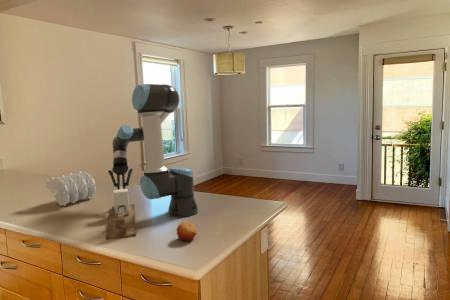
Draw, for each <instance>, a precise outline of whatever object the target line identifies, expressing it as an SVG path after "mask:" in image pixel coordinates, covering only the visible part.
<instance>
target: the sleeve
mask: <svg viewBox="0 0 450 300" xmlns="http://www.w3.org/2000/svg"><path fill="white" fill-rule="evenodd" d="M129 199H130V198H129V189H128V188H125V189H119V190H118V189H114V190H113V204H114V206H115V216H118V212H119V206H121V205H125V206H126V209H125V215H129V205H130V203H129Z"/></svg>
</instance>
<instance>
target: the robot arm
mask: <svg viewBox="0 0 450 300" xmlns="http://www.w3.org/2000/svg"><path fill="white" fill-rule="evenodd" d="M179 103H180V96H179V92H178V91H177V89H176V88H175V87H173V86H172V85H170V84H157V83H156V84H155V83H154V84H152V83H149V84H148V83H147V84H146V83H145V84H138V85H137V86H135V87H134V89H133V92H132V96H131V104H132V107H133V109H134V110H136V111H137V114H138V116H140V117H141V121H142V123H141V125H142V126H141V127H134V128H133V127H132V126H130V125H127V124H124V125H121V126H119V129H118V130H117V134H116V136H115V137H113V139H112V143H111V144H112V169H111V170H110V169H109V170H108V172H107V173H108V175H109V176H110V178H111V181H112V183H113V184H112V185H113V186H114V188H116V187H117V190H119V189H126V187H128V186H129V185H130V180H131V176H132V174H133V172H134V171H133V168H129V166H128V146H129V143H133V142H134V143H135V142H143V143H144V153H145V163H146V164H145V165H146V168H145V169H144V171H143V175H142V176H141V177H140V178H139V187H140V190H141V192H142V193H143V195H144V197H145V198H147V199H148V200H155V199H161V198H165V197H169V196H170V202H169V205H168V210H167V211H168V215H169V216H172V217H178V218H181V217H182V218H183V217H189V216H194V215H196V214H198V213H199V207H198V203H197V200H196V199H195V187H194V186H195V185H194V173H193V172H194V171H193V170H192V169H191V168H187V167H180V166H179V167H177V166H175V167H174V166H173V167H170V168H168V167H167V166H166V164H165V153H164V144H163V143H164V142H163V132H162V124H163V123H164V122H165V120H166V119H167V118H168V116H169V115H170V114H173V113H174V112H175V111H176V110H177V108H178V107H179ZM127 172H128V173H127ZM126 173H127V177H126V176H125V175H126ZM114 174H116V175H115V176H116V180H115V177H114ZM121 179H122V180H121ZM121 183H122V184H121Z"/></svg>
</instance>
